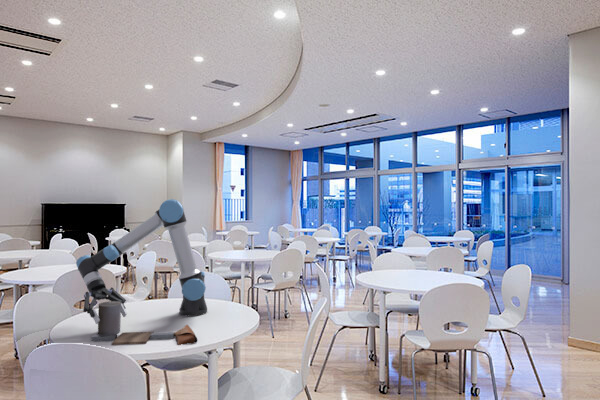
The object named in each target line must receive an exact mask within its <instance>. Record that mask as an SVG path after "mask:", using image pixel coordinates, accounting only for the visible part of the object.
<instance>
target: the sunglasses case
mask: <svg viewBox="0 0 600 400" xmlns="http://www.w3.org/2000/svg"><path fill="white" fill-rule="evenodd" d="M174 339H176V342H177V345H178V346H181V344H183V345H188V344H187V343H191V344H195V343H194V342H198V338H197V336H196V334H195V332H194V331H193V330H192V328H191V327H190V326H189V324H186V325H185V326H184V327H182V328H180V329H178V330H177V331H175V337H174Z"/></svg>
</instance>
